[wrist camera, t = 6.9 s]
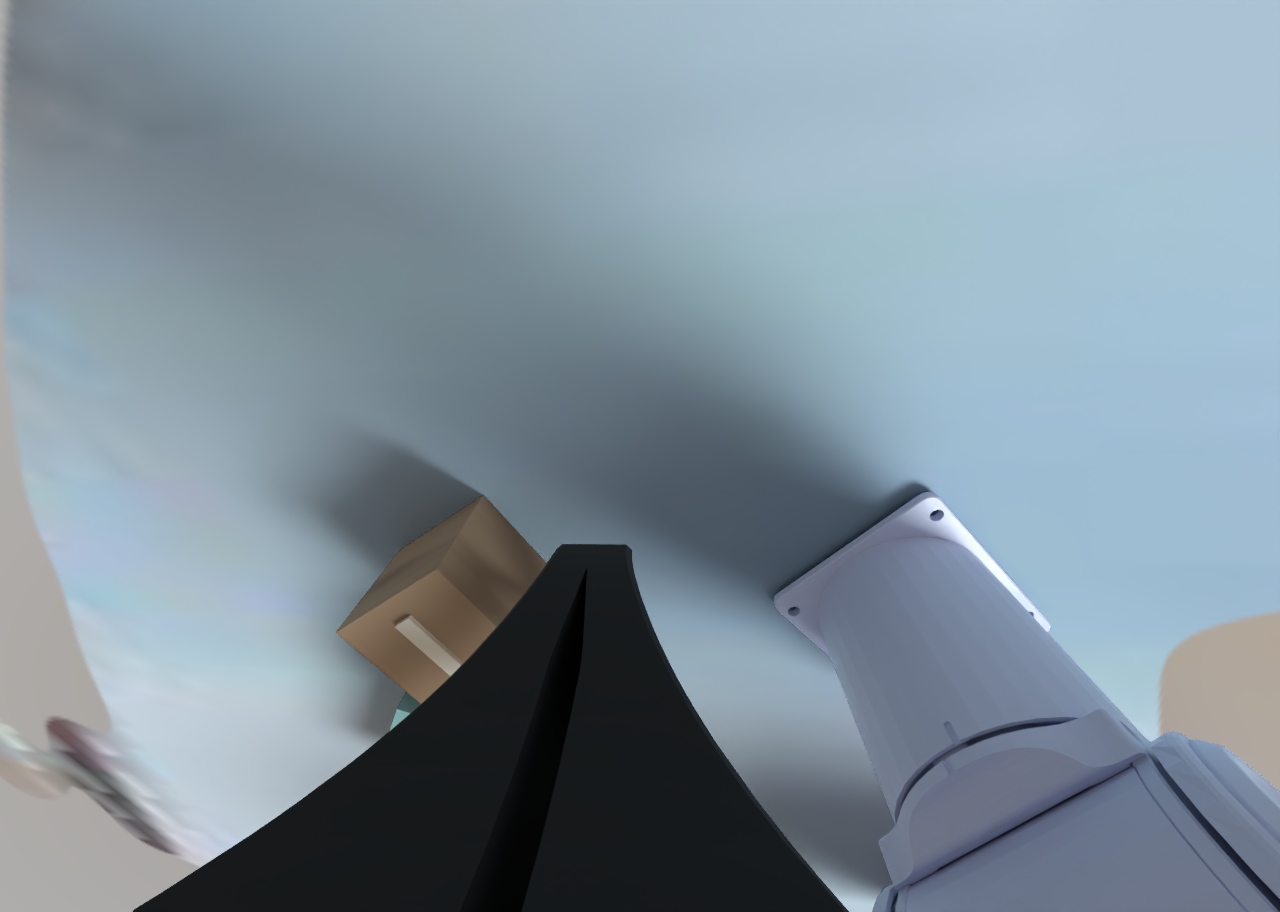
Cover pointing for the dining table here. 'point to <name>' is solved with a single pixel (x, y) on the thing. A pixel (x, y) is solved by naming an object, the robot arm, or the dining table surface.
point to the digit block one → (442, 598)
